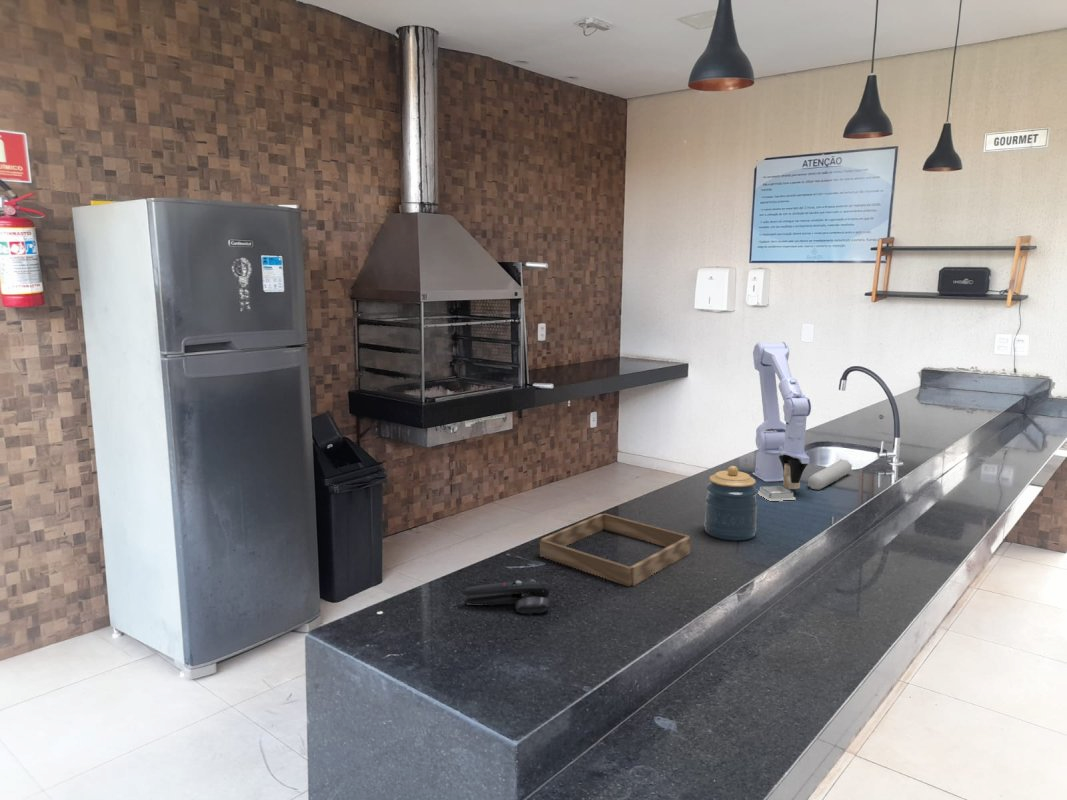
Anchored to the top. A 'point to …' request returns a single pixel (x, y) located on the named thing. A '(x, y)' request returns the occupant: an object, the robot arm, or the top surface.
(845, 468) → the tube
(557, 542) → the wooden frame
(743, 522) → the canister
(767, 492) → the white square tray
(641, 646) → the top surface
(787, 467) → the wooden block
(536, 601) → the can opener
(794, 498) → the tile
